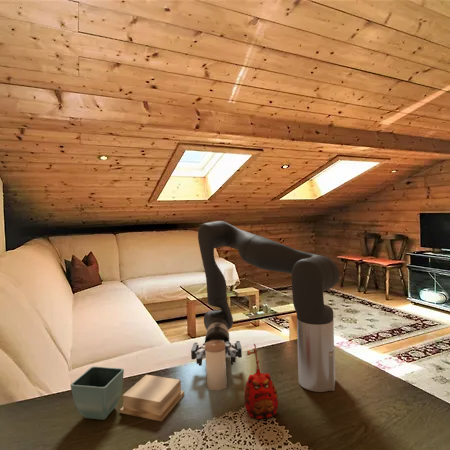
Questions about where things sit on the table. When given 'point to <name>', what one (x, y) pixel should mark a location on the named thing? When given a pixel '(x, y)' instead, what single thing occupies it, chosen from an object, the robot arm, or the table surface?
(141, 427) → the table surface
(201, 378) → the table surface
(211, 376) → the cream canister
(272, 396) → the red clay folk toy
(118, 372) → the flower pot
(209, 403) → the table surface
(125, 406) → the oak plinth
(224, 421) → the table surface
